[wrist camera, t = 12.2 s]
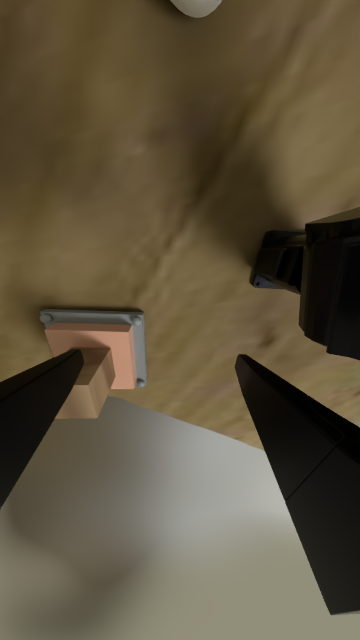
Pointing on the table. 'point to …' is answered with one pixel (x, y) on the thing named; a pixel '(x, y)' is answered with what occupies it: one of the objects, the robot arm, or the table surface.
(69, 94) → the table surface
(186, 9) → the sauce bottle
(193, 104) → the table surface
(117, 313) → the brick base
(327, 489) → the robot arm
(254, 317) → the table surface
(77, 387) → the tan wooden block
